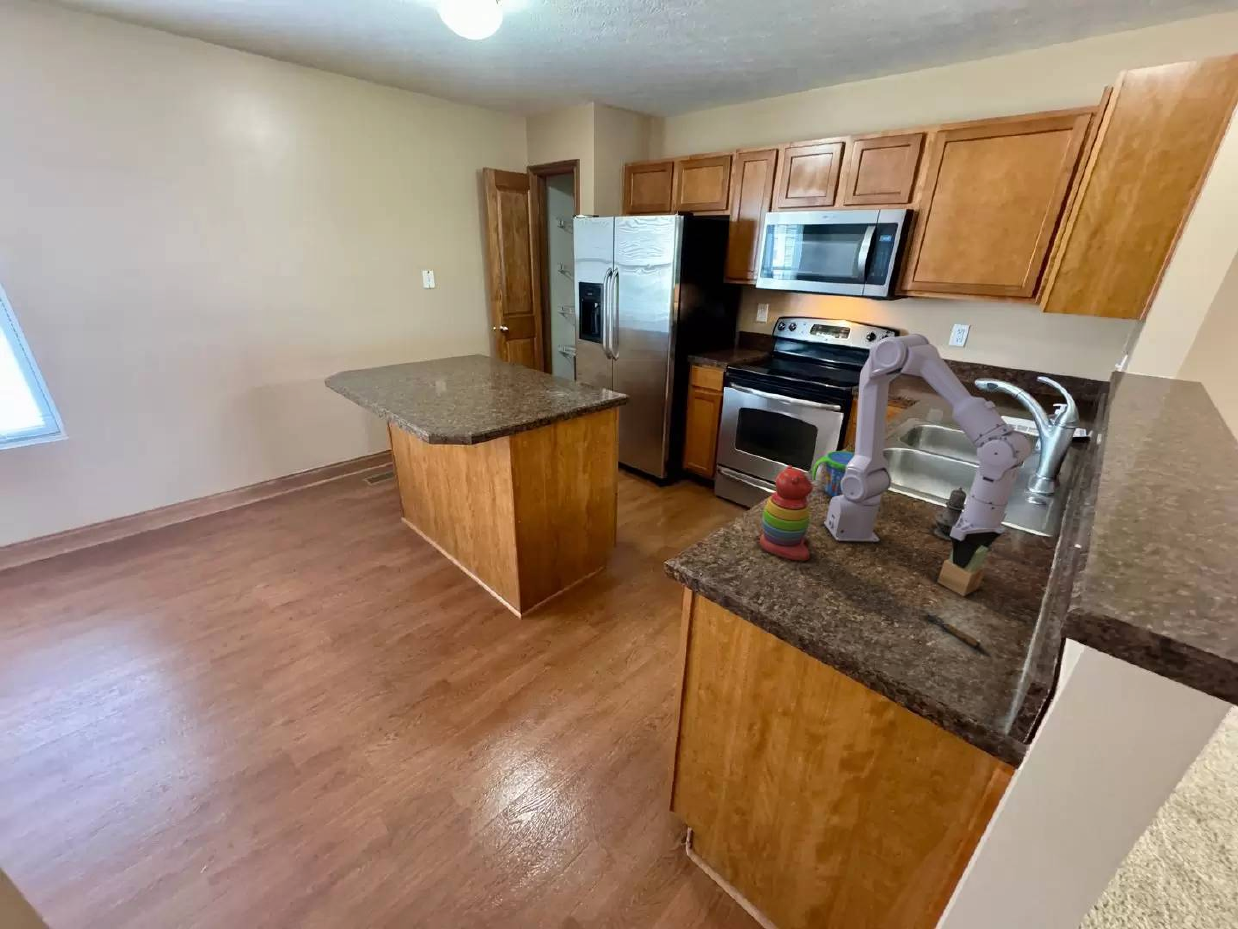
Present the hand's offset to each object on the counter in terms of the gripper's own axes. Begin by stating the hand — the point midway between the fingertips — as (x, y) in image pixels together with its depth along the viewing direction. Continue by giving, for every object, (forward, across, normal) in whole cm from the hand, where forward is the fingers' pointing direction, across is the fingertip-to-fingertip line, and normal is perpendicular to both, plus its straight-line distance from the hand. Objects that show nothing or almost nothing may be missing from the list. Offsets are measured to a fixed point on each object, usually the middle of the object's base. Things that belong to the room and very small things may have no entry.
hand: (965, 561), depth 97 cm
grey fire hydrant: (+6, +17, +12) cm, 22 cm away
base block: (+5, 0, 0) cm, 5 cm away
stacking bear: (+6, -20, +26) cm, 33 cm away
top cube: (0, 0, 0) cm, 0 cm away
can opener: (+6, -14, -7) cm, 17 cm away
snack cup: (+6, +13, +37) cm, 39 cm away
